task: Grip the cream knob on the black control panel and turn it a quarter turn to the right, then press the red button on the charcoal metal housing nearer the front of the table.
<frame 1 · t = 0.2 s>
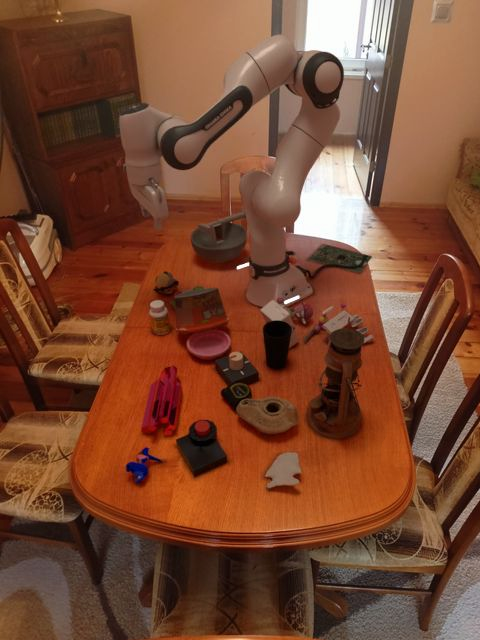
hand: (152, 222, 135), 30 cm above the table, tool pointing down, fingers open, 8 cm apart
crystal: (165, 402, 123), on the table
ink box: (286, 337, 142), point 1 cm above the table, touching cup, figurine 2
candy: (331, 330, 146), on the table, touching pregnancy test
red button: (202, 428, 110), point 4 cm above the table, slide at 0.1 cm
saucer: (209, 350, 139), on the table, touching food container
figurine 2: (268, 322, 144), point 3 cm above the table, touching ink box
arrowhead: (280, 487, 101), point 2 cm above the table
knife: (280, 245, 186), point 1 cm above the table
dial panel: (236, 374, 131), on the table
toilet paper hanger: (233, 231, 176), point 10 cm above the table, touching bowl
bowl: (220, 258, 180), on the table, touching toilet paper hanger
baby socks: (358, 327, 143), point 2 cm above the table, touching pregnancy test
button box: (201, 453, 110), on the table
lantern: (333, 418, 119), on the table
toy: (173, 279, 166), point 1 cm above the table
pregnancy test: (336, 323, 143), point 3 cm above the table, touching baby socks, candy
circuit board: (340, 258, 180), on the table
cup: (276, 363, 135), on the table, touching ink box
food container: (195, 291, 139), point 13 cm above the table, touching saucer
oil lamp: (266, 424, 117), on the table
figurine: (149, 448, 108), point 3 cm above the table
supplement bottle: (161, 330, 146), on the table
tape measure: (236, 403, 123), on the table
toy food set: (192, 306, 156), on the table
dial knob: (236, 360, 128), point 5 cm above the table, hinge at 0.0°
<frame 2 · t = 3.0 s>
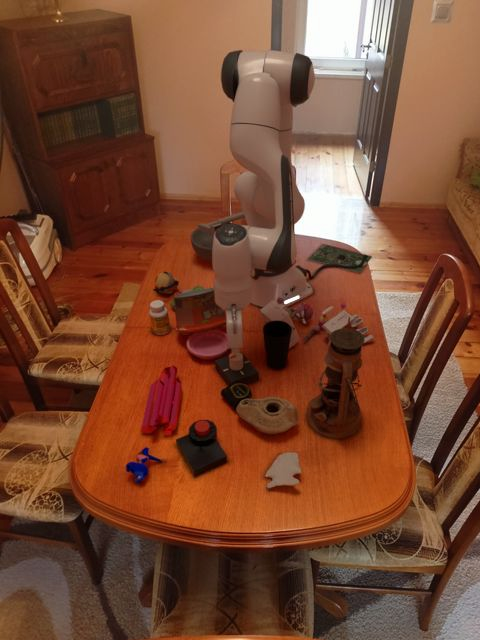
hand: (234, 339, 123), 12 cm above the table, tool pointing down, fingers open, 8 cm apart
nothing on the table moved.
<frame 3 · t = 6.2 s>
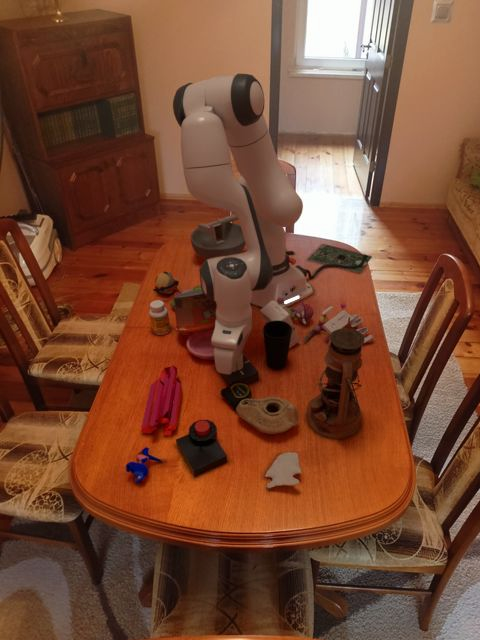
hand: (236, 363, 128), 4 cm above the table, tool pointing down, fingers closed on dial knob, 3 cm apart
ink box: (286, 337, 142), point 1 cm above the table, touching cup, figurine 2
dial knob: (236, 360, 128), point 5 cm above the table, hinge at 0.5°, touching gripper
everything else where it was.
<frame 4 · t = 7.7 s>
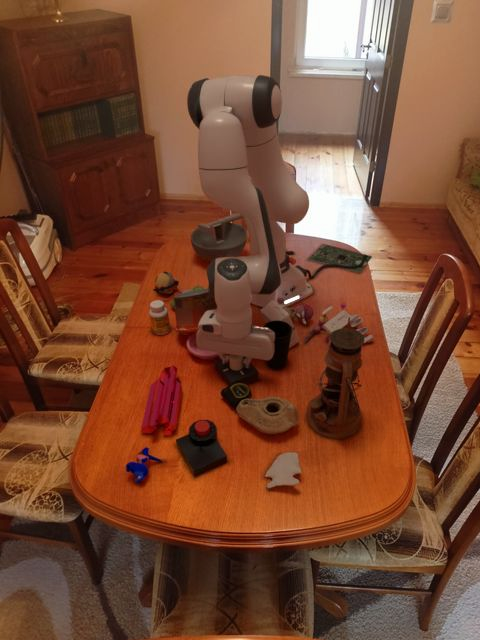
hand: (236, 364, 129), 4 cm above the table, tool pointing down, fingers open, 4 cm apart
ink box: (286, 337, 142), point 1 cm above the table, touching cup, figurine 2
dial knob: (236, 360, 128), point 5 cm above the table, hinge at -90.9°
everything else where it was.
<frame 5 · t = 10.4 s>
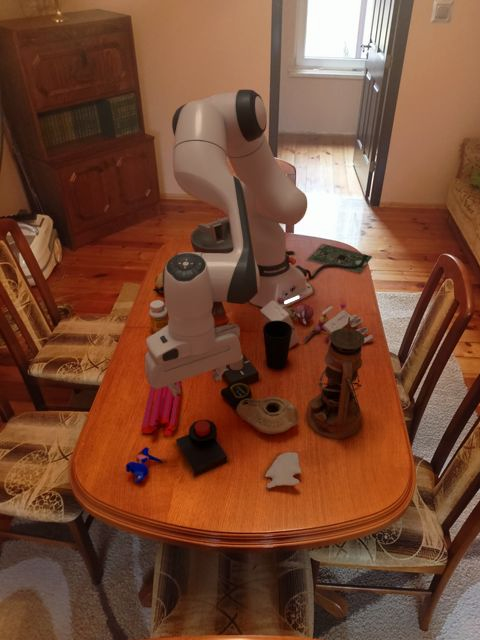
hand: (197, 387, 104), 16 cm above the table, tool pointing down, fingers open, 8 cm apart
ink box: (286, 337, 142), point 1 cm above the table, touching cup, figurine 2
candy: (331, 330, 146), on the table
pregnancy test: (336, 323, 143), point 3 cm above the table, touching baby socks
everything else where it was.
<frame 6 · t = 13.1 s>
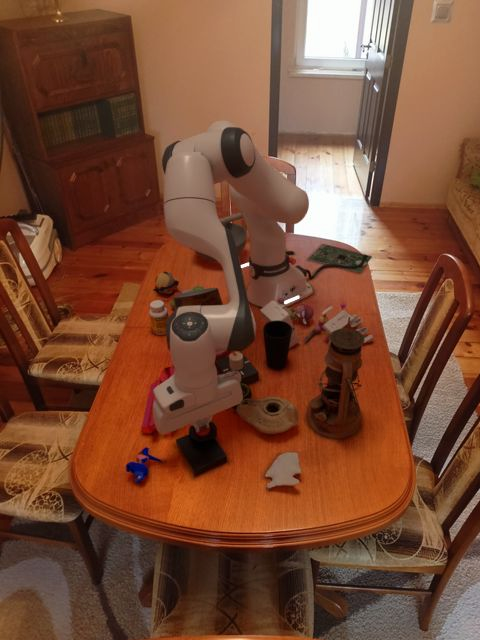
hand: (201, 428, 110), 5 cm above the table, tool pointing down, fingers closed, pressing on red button
ink box: (286, 337, 142), point 1 cm above the table, touching cup, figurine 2
candy: (331, 330, 146), on the table, touching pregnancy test
red button: (202, 430, 111), point 4 cm above the table, slide at -0.7 cm, touching gripper
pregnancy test: (336, 323, 143), point 3 cm above the table, touching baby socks, candy
everything else where it was.
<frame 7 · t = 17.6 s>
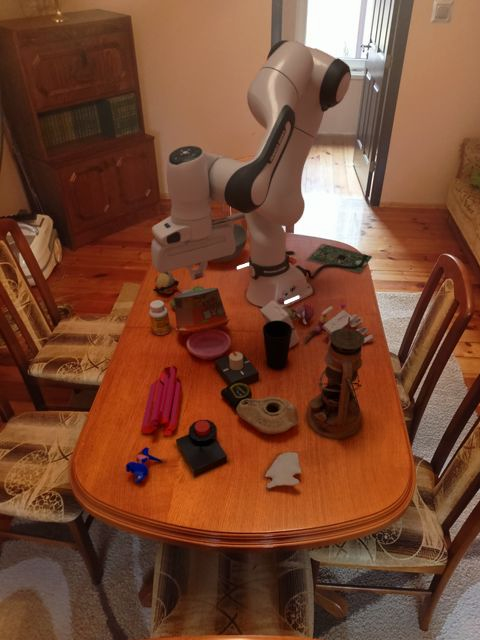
hand: (197, 277, 118), 27 cm above the table, tool pointing down, fingers closed
ink box: (286, 337, 142), point 1 cm above the table, touching cup, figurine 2
red button: (202, 428, 110), point 4 cm above the table, slide at 0.1 cm
everything else where it was.
at the end: dial knob at -91° (first picture: +0°); red button pushed in 1.0 cm at the most during the clip, back to where it started at the end; red button slide at 0.1 cm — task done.
